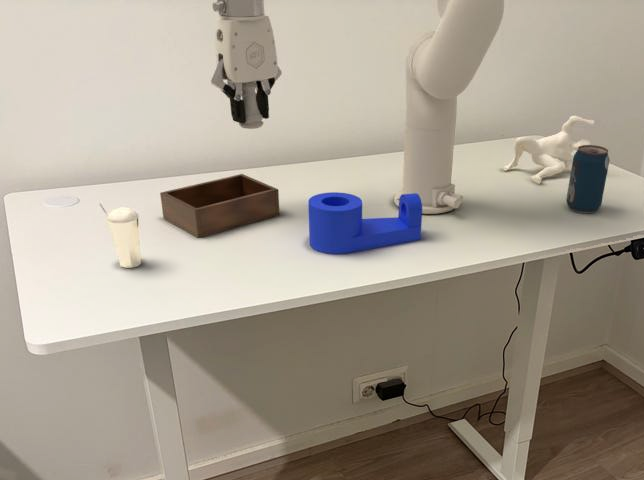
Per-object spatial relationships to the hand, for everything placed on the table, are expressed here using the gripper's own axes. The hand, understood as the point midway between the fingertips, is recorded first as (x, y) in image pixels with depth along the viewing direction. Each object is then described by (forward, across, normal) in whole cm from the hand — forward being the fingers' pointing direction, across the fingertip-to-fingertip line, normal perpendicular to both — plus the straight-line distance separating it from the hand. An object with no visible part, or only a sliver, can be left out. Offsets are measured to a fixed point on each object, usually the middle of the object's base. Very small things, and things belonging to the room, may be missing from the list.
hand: (250, 118), depth 132 cm
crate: (+17, -8, 0) cm, 19 cm away
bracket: (+17, +4, -25) cm, 31 cm away
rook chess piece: (+2, 0, 0) cm, 2 cm away
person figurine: (+18, +64, -24) cm, 70 cm away
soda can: (+18, +49, -42) cm, 67 cm away
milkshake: (+17, -31, -8) cm, 36 cm away
